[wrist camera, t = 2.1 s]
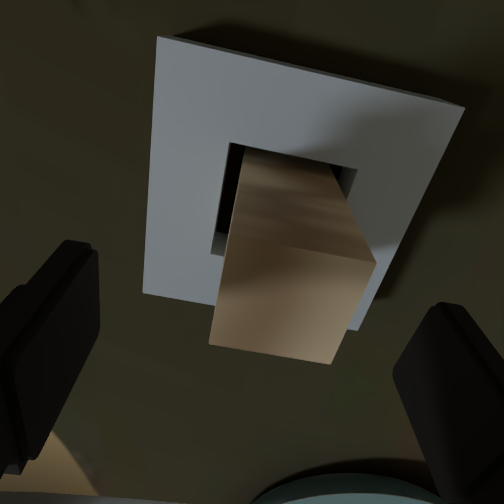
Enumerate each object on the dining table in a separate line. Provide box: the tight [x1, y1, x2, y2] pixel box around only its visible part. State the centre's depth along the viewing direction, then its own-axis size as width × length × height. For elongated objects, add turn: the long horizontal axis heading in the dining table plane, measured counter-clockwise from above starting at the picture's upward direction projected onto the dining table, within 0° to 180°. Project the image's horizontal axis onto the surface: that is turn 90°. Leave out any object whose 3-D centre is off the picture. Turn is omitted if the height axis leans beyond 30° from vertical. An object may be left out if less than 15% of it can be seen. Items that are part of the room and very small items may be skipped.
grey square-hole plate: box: [143, 36, 465, 331], centre depth 18 cm, size 12×12×2 cm
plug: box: [209, 146, 377, 364], centre depth 15 cm, size 4×4×9 cm
